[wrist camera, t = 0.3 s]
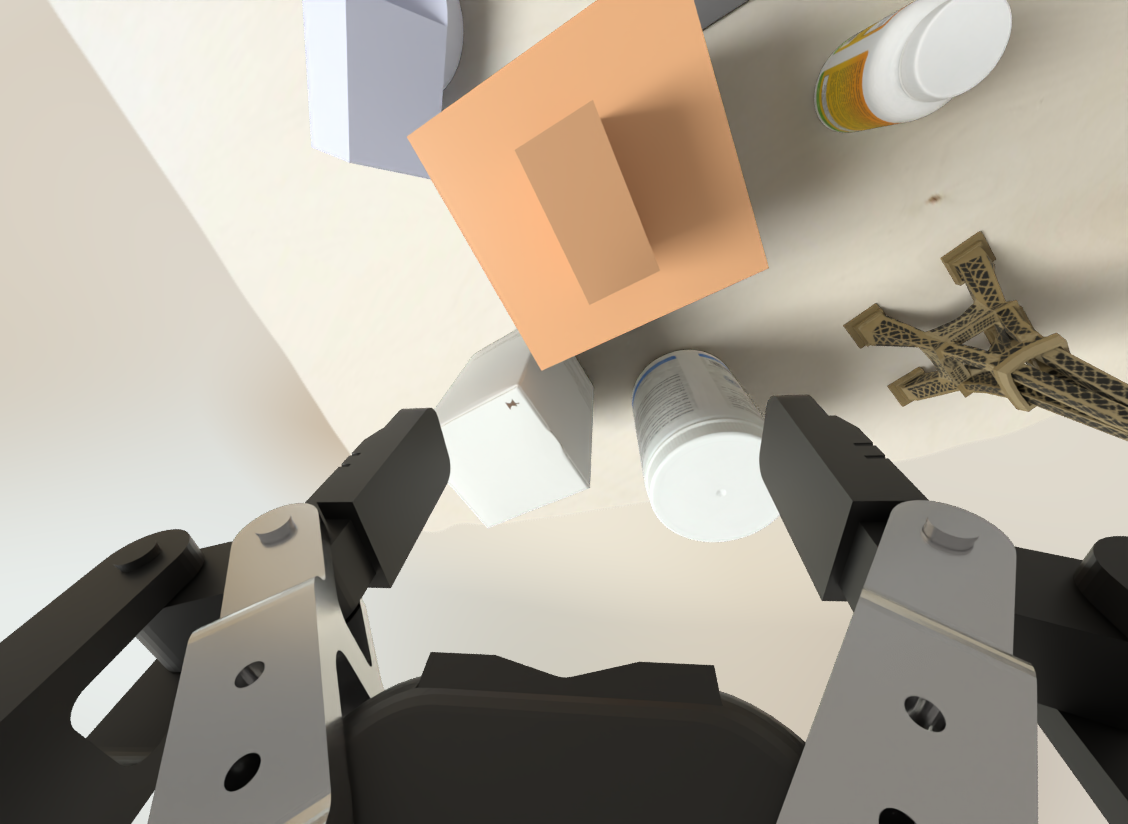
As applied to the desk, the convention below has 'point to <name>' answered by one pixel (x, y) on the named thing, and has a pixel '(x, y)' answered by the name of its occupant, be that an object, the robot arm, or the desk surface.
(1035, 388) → the eiffel tower
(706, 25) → the rubber mat
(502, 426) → the supplement box
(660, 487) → the supplement tub
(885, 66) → the supplement bottle
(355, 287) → the desk surface
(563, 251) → the lid
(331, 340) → the desk surface
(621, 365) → the desk surface
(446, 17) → the wedge on round base
